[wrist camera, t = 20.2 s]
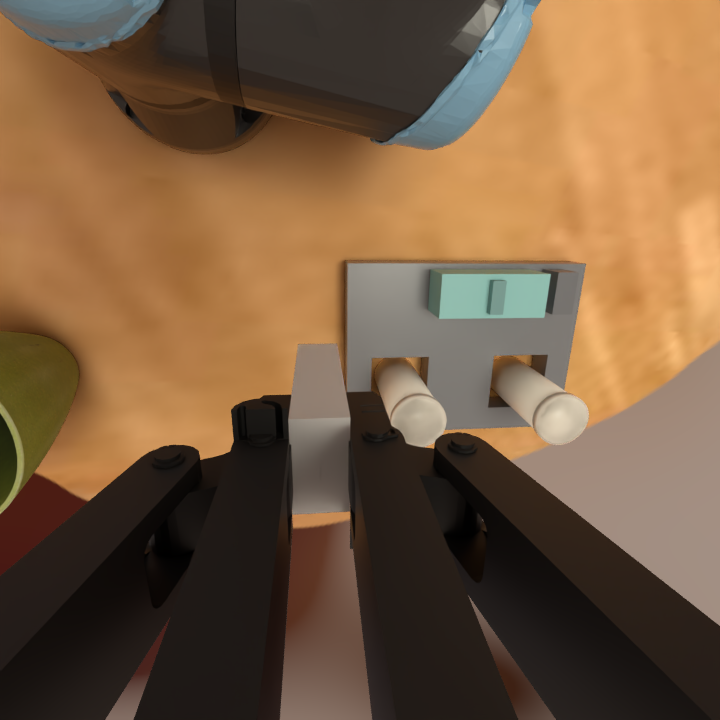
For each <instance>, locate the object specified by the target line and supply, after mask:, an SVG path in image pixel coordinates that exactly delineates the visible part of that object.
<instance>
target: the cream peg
mask: <svg viewBox="0 0 720 720" xmlns="http://www.w3.org/2000/svg"><path fill="white" fill-rule="evenodd" d="M490 387H491V388H492V389H493V390H494V391H495V392H496V393H497V394H498V395H499V396H500V397H501V398H502V399H503V400H504V401H505V402H506V403H507V404H508V405H510V406H511V407H512V408H513V409H514V410H515V411H516V412H517V413H518V414H519V415H520V416H521V417H522V418H523V419H524V420H525V421H526V422H527V423H528V424H529V425H531V426H532V427H533V428H534V430H535V432H536V433H537V434H538V435H539V436H540V437H541V438H542V439H543V440H544V441H545V442H547V443H550V444H554V445H561V444H566V443H569V442H571V441H573V440H574V439H576V438H577V437H578V436H579V435H580V434H581V433H582V432H583V431H584V429H585V428H586V425H587V423H588V419H589V412H588V408H587V406H586V404H585V403H584V402H583V401H582V400H581V399H579V398H578V397H576V396H575V395H573V394H571V393H568V392H566V391H565V390H563V389H562V388H560V387H559V386H557V385H556V384H554V383H553V382H551V381H550V380H548V379H547V378H546V377H544V376H543V375H541V374H540V373H538V372H537V371H535V370H534V369H532V368H531V367H529V366H528V365H526V364H525V363H524V362H522V361H521V360H519V359H518V358H516V357H513V356H503V357H500V358H498V359H496V360H495V361H494V362H493V369H492V377H491V386H490Z"/></svg>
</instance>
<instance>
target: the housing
mask: <svg viewBox="0 0 720 720" xmlns="http://www.w3.org/2000/svg"><path fill="white" fill-rule="evenodd" d="M585 266H586V264H583V263H577V262H571V261H363V260H345V390H346V392H367V391H371V367H372V358H399V357H422V359H421V376H420V378H421V379H422V381H423V382H424V384H425V385H426V387H427V388H428V390H429V391H430V393H431V394H432V396H433V397H434V398H435V399H436V400H437V401H438V402H439V403H440V404H441V406H442V407H443V409H444V411H445V414H446V419H447V421H446V427H445V430H452V429H479V428H506V427H532V426H531V425H529V424H528V423H527V422H526V421H525V420H524V419H523V418H522V417H521V416H520V415H519V414H518V413H517V412H516V411H515V410H514V409H513V408H512V407H511V406H510V405H508V404H507V403H506V402H505V401H504V400H503V399H502V398H501V397H500V396H496V397H489V395H490V386H491V377H492V369H493V360H494V356H502V355H533V360H532V367H531V368H532V369H534V370H535V371H537V372H538V373H540V374H541V375H543V376H544V377H546V378H547V379H548V380H550V381H551V382H553V383H554V384H556V385H557V386H559V387H560V388H562V389H563V390H564V387H565V382H566V376H567V370H568V364H569V359H570V353H571V347H572V341H573V336H574V330H575V324H576V318H577V312H578V307H579V301H580V295H581V289H582V284H583V278H584V272H585ZM431 269H531V270H535V271H540V272H544V273H548V274H551V276H550V283H549V290H548V297H547V303H546V310H545V317H544V318H472V319H439V318H437V317H436V316H435V315H434V314H432V313H431V312H430V311H429V310H428V303H429V287H430V271H431ZM382 401H383V400H382ZM383 404H384V403H383ZM386 412H387V411H386ZM389 420H390V419H389Z"/></svg>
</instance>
